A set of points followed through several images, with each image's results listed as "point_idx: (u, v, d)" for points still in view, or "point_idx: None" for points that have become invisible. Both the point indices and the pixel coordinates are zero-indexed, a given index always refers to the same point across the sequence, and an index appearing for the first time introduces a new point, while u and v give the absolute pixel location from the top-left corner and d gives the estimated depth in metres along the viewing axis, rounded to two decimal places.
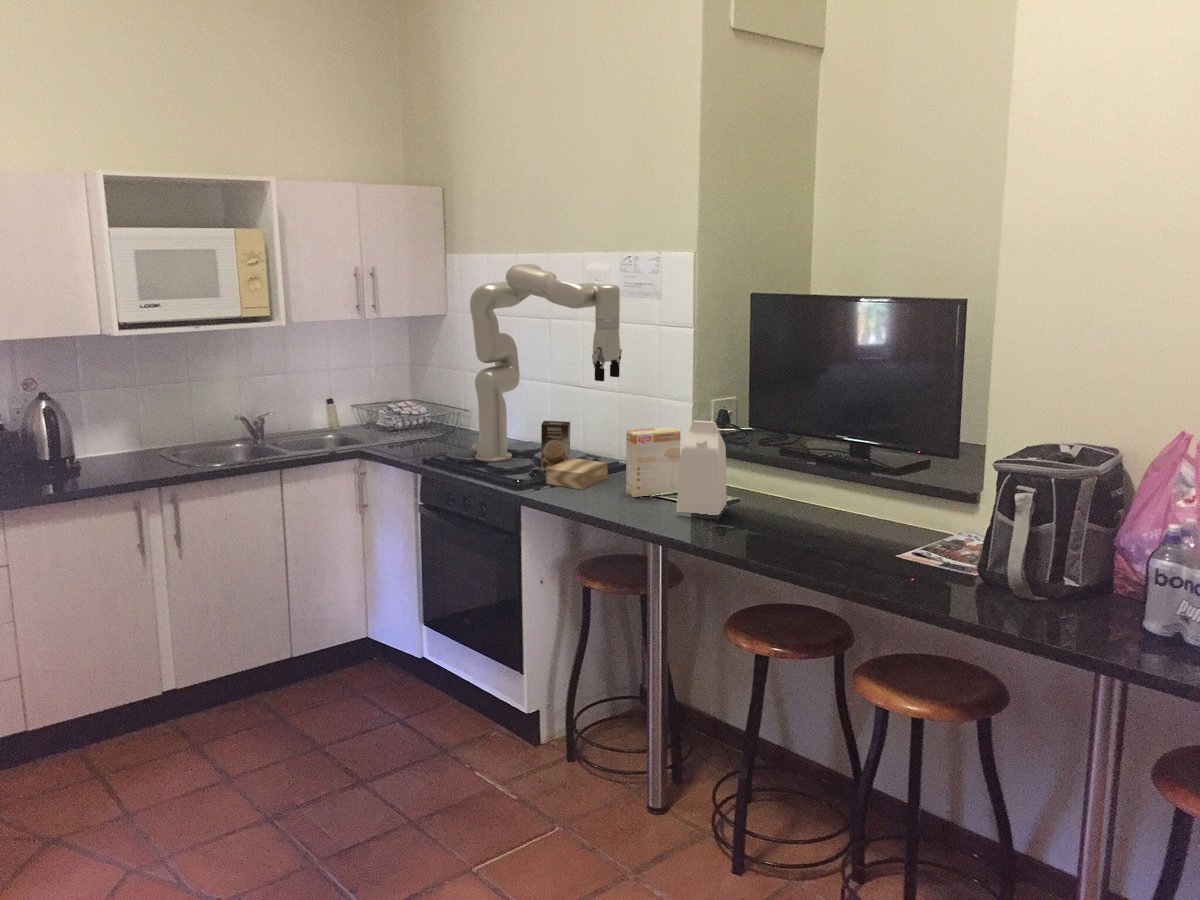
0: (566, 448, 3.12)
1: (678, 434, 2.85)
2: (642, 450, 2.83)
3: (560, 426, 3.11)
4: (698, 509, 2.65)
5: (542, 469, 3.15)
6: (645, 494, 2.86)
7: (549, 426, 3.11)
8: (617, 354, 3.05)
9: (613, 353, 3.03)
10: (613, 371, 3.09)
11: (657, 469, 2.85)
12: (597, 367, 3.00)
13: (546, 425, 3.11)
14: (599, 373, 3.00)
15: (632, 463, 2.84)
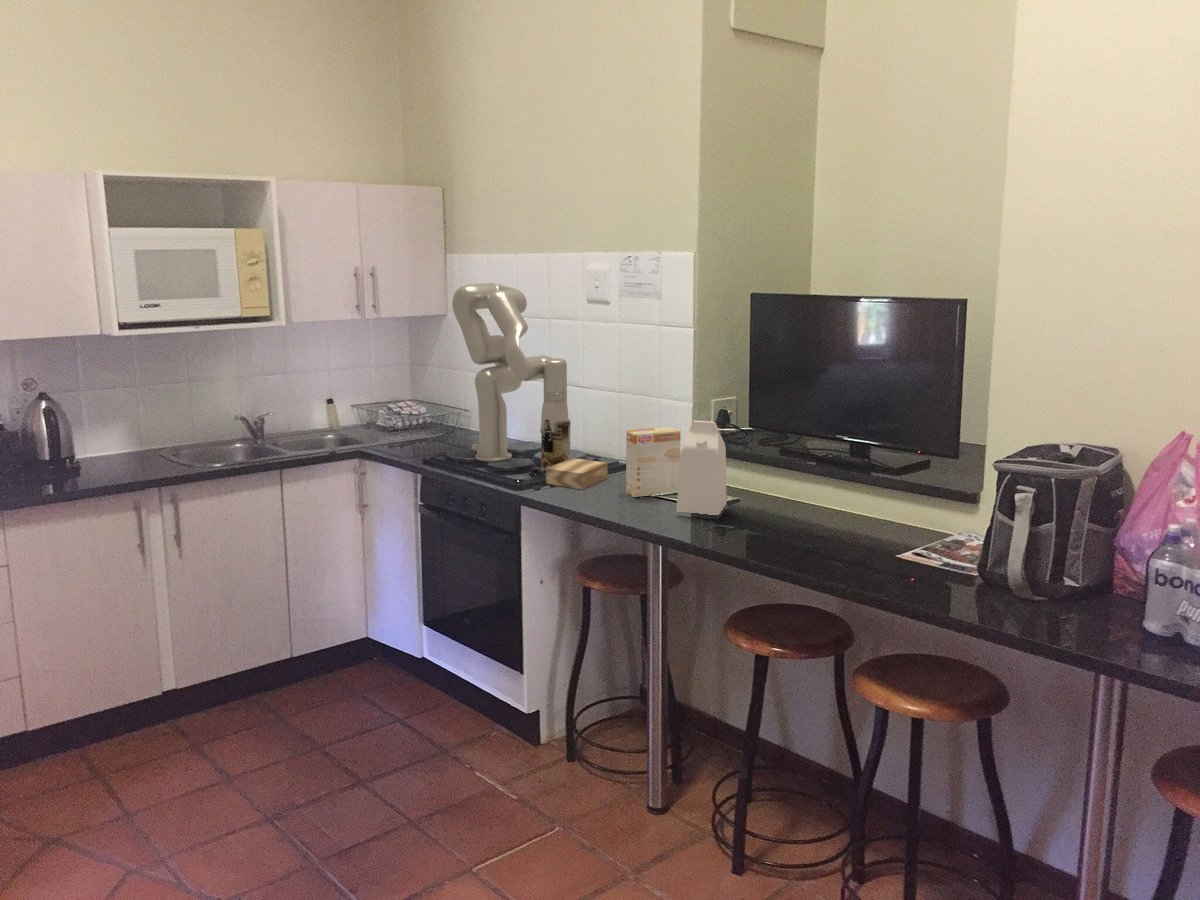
0: (566, 448, 3.12)
1: (678, 434, 2.85)
2: (642, 450, 2.83)
3: (560, 426, 3.11)
4: (698, 509, 2.65)
5: (542, 469, 3.15)
6: (645, 494, 2.86)
7: (549, 426, 3.11)
8: None
9: None
10: None
11: (657, 469, 2.85)
12: (546, 439, 3.10)
13: None
14: (548, 445, 3.11)
15: (632, 463, 2.84)
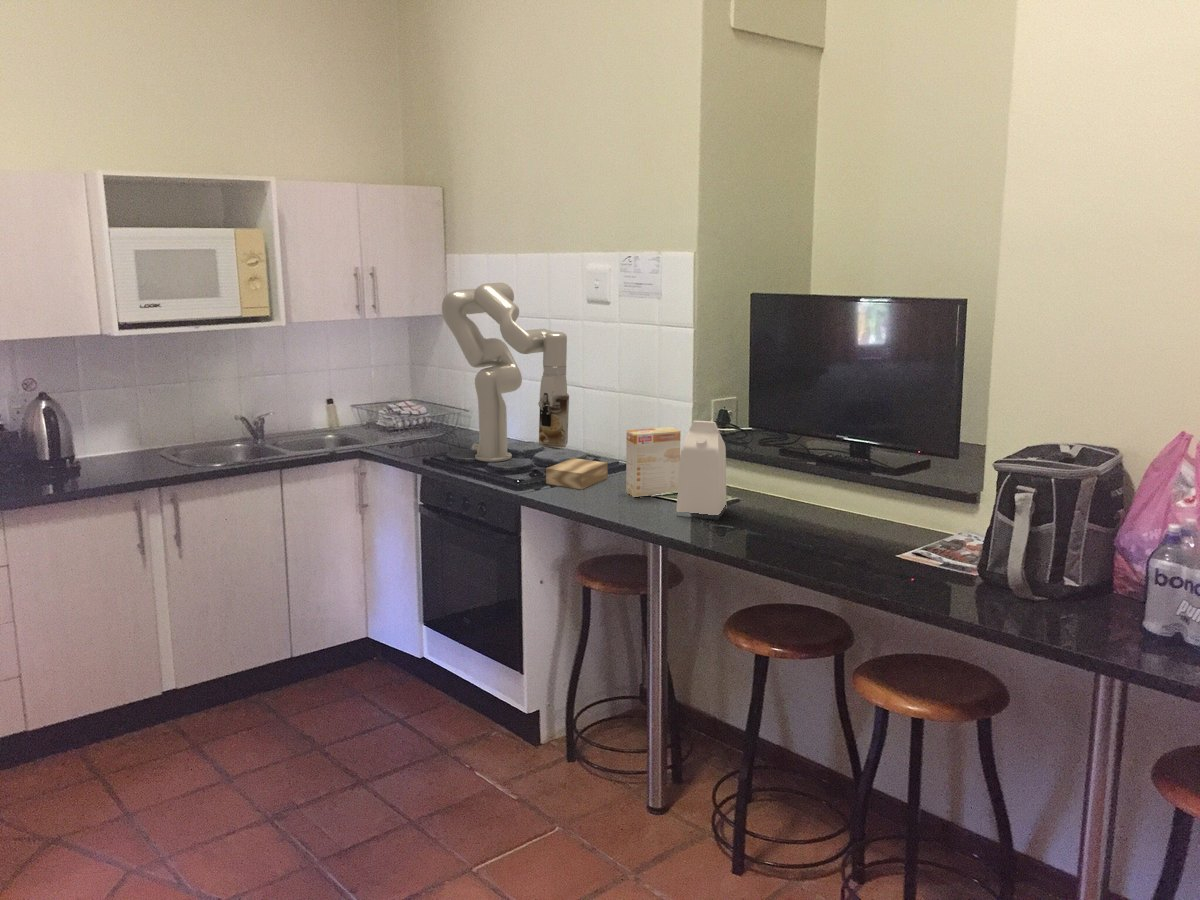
0: (564, 422, 3.11)
1: (678, 434, 2.85)
2: (642, 450, 2.83)
3: (559, 400, 3.09)
4: (698, 509, 2.65)
5: (539, 443, 3.14)
6: (645, 494, 2.86)
7: None
8: None
9: None
10: None
11: (657, 469, 2.85)
12: (544, 413, 3.09)
13: None
14: (546, 419, 3.09)
15: (632, 463, 2.84)
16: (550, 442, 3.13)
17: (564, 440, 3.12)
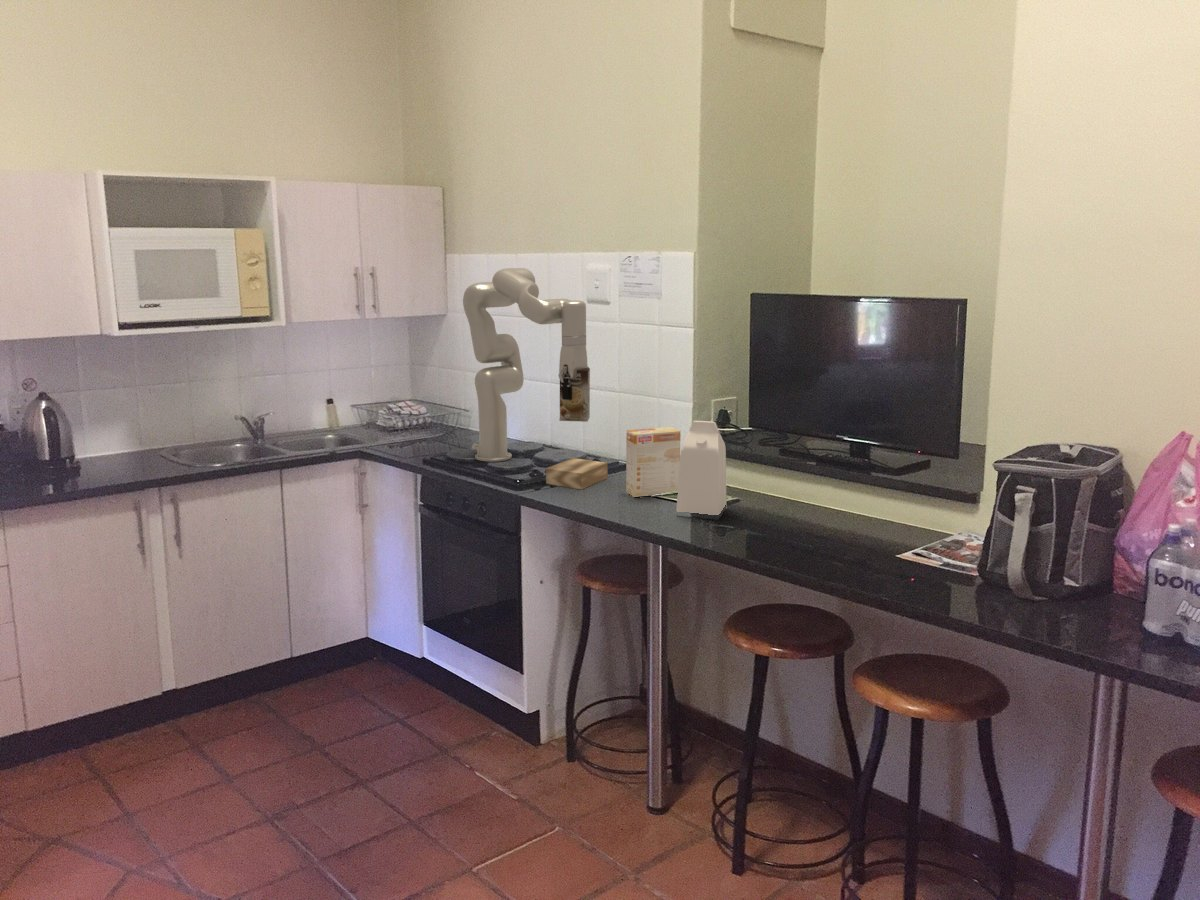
0: (586, 395, 2.97)
1: (678, 434, 2.85)
2: (642, 450, 2.83)
3: (579, 371, 2.95)
4: (698, 509, 2.65)
5: (560, 418, 2.99)
6: (645, 494, 2.86)
7: None
8: None
9: None
10: None
11: (657, 469, 2.85)
12: (564, 386, 2.94)
13: None
14: (566, 392, 2.95)
15: (632, 463, 2.84)
16: (571, 416, 2.98)
17: (586, 414, 2.98)
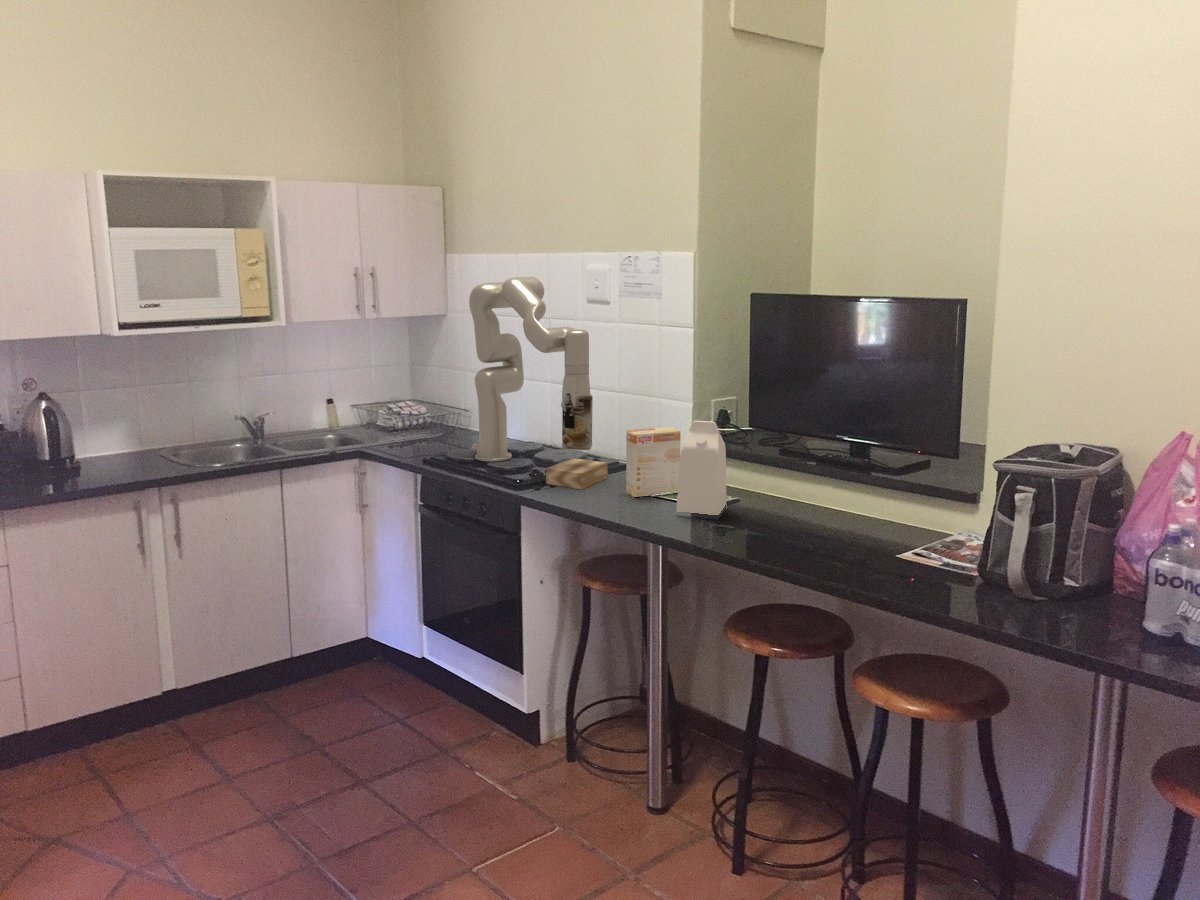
0: (588, 424, 2.97)
1: (678, 434, 2.85)
2: (642, 450, 2.83)
3: (582, 400, 2.96)
4: (698, 509, 2.65)
5: (563, 446, 2.99)
6: (645, 494, 2.86)
7: (570, 400, 2.96)
8: None
9: None
10: None
11: (657, 469, 2.85)
12: (567, 414, 2.95)
13: None
14: (569, 420, 2.95)
15: (632, 463, 2.84)
16: (574, 444, 2.99)
17: (589, 443, 2.98)
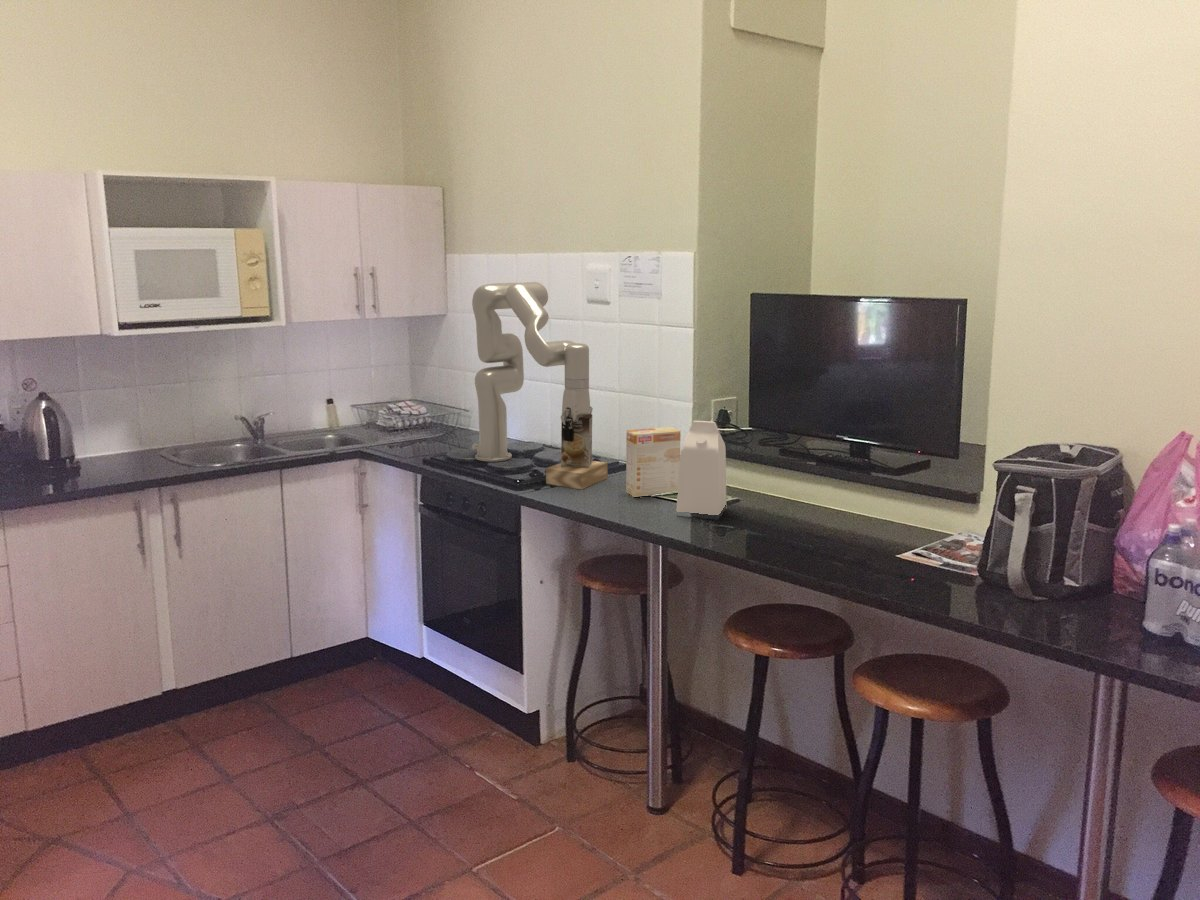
0: (587, 442, 2.98)
1: (678, 434, 2.85)
2: (642, 450, 2.83)
3: (581, 419, 2.97)
4: (698, 509, 2.65)
5: (562, 463, 3.01)
6: (645, 494, 2.86)
7: (569, 418, 2.98)
8: (587, 413, 3.01)
9: (583, 412, 2.99)
10: None
11: (657, 469, 2.85)
12: (566, 427, 2.95)
13: None
14: (568, 433, 2.96)
15: (632, 463, 2.84)
16: (573, 462, 3.01)
17: (587, 460, 3.00)
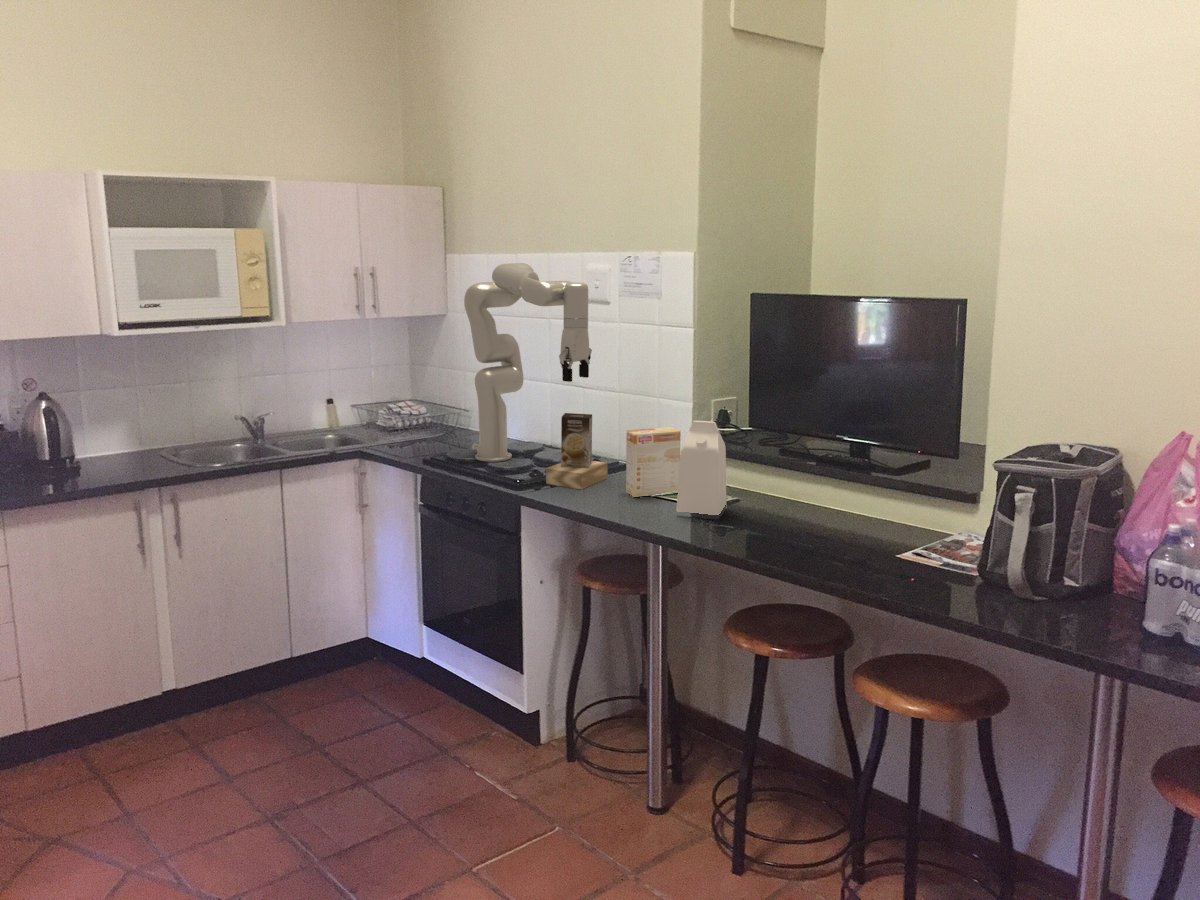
0: (587, 442, 2.98)
1: (678, 434, 2.85)
2: (642, 450, 2.83)
3: (581, 419, 2.97)
4: (698, 509, 2.65)
5: (562, 463, 3.01)
6: (645, 494, 2.86)
7: (569, 418, 2.98)
8: (586, 354, 2.98)
9: (582, 353, 2.96)
10: (582, 371, 3.02)
11: (657, 469, 2.85)
12: (565, 367, 2.93)
13: (566, 417, 2.98)
14: (567, 373, 2.93)
15: (632, 463, 2.84)
16: (573, 462, 3.01)
17: (587, 460, 3.00)
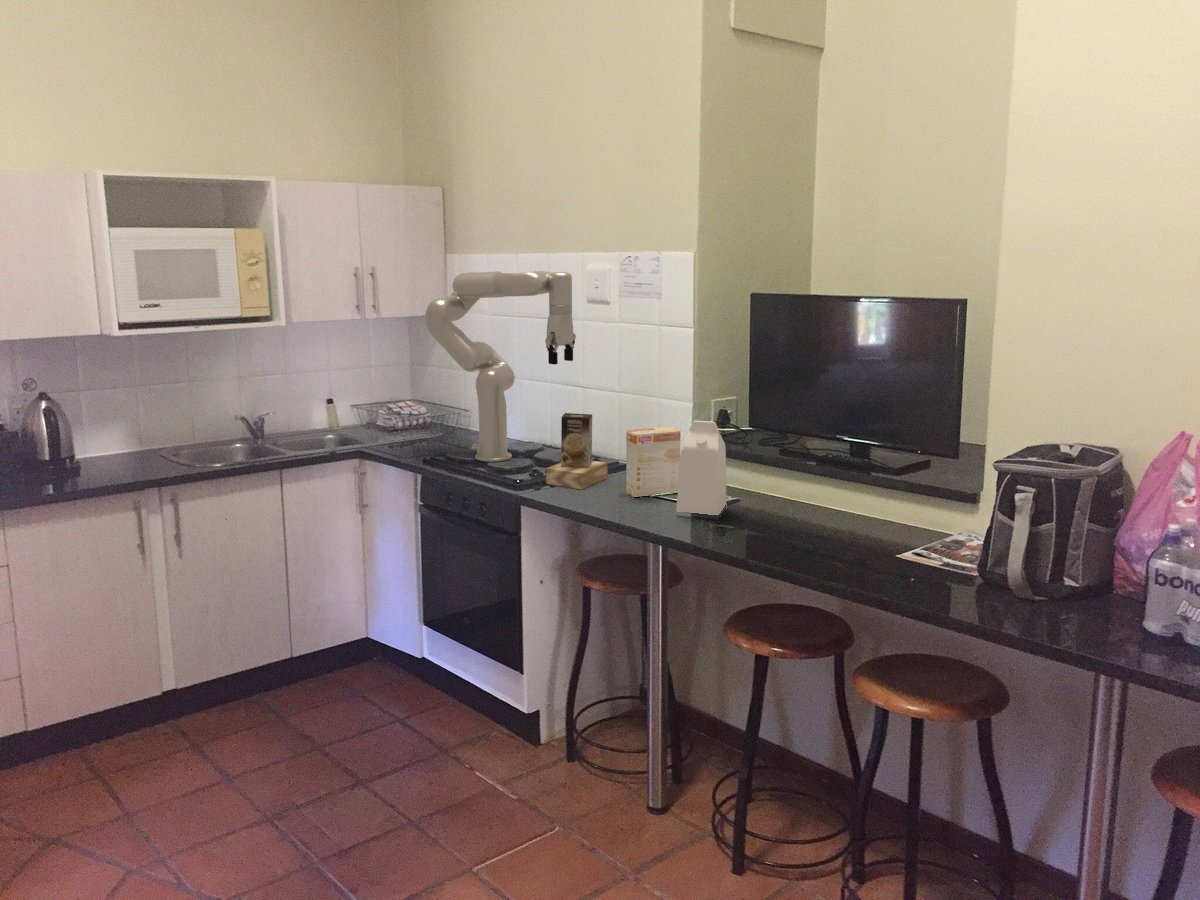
0: (587, 442, 2.98)
1: (678, 434, 2.85)
2: (642, 450, 2.83)
3: (581, 419, 2.97)
4: (698, 509, 2.65)
5: (562, 463, 3.01)
6: (645, 494, 2.86)
7: (569, 418, 2.98)
8: (570, 339, 3.20)
9: (566, 337, 3.17)
10: (567, 355, 3.24)
11: (657, 469, 2.85)
12: (550, 351, 3.14)
13: (566, 417, 2.98)
14: (552, 356, 3.15)
15: (632, 463, 2.84)
16: (573, 462, 3.01)
17: (587, 460, 3.00)
